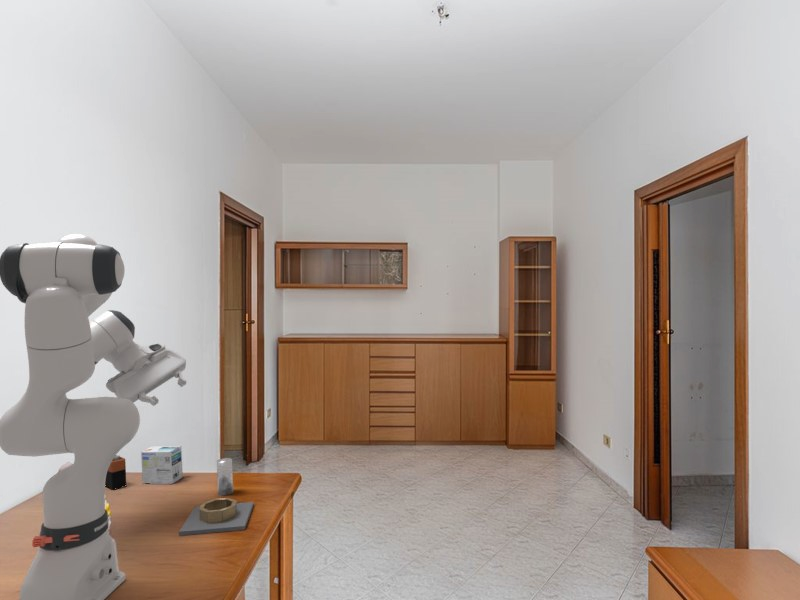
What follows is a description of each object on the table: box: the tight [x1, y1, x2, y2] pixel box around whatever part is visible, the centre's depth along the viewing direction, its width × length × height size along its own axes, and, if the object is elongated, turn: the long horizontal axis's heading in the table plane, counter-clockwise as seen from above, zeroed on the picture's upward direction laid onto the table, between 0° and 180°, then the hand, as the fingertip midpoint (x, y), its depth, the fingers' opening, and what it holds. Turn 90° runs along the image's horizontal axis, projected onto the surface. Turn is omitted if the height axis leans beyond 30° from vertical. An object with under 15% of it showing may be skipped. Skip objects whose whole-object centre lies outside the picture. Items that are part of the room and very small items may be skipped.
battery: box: [105, 454, 127, 490], centre depth 171 cm, size 4×7×10 cm, turn 51°
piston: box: [216, 457, 234, 497], centre depth 162 cm, size 4×4×10 cm
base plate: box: [178, 501, 255, 537], centre depth 142 cm, size 16×16×1 cm
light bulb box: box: [140, 445, 184, 485], centre depth 175 cm, size 11×7×11 cm, turn 84°
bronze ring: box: [199, 497, 238, 524], centre depth 142 cm, size 9×9×3 cm
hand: (170, 393), depth 147 cm, fingers open, 8 cm apart
